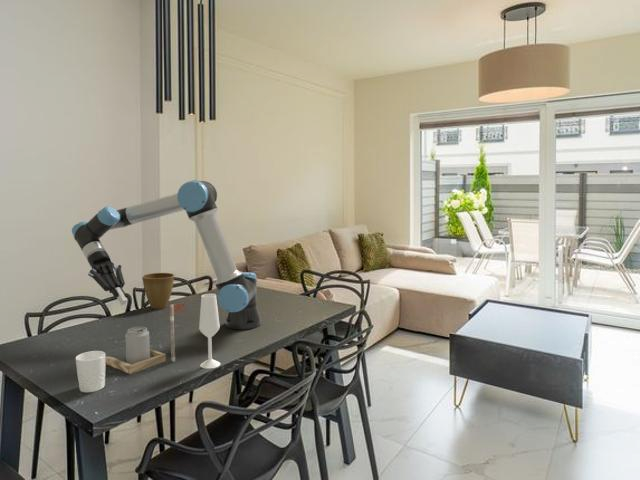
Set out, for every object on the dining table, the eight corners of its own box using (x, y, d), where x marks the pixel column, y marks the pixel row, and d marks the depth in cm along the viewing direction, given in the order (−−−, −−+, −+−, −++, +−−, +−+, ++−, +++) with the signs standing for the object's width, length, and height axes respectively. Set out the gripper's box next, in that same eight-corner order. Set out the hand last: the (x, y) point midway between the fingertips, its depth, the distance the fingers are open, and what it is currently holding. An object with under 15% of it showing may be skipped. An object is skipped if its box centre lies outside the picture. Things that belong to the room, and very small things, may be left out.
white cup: (98, 379, 139) (96, 348, 138) (112, 386, 135) (110, 354, 134) (72, 389, 133) (70, 356, 132) (86, 396, 129) (84, 362, 127)
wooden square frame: (186, 357, 158) (184, 302, 155) (125, 380, 139) (122, 317, 137) (147, 343, 171) (145, 292, 168) (87, 363, 152) (84, 305, 150)
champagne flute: (222, 360, 155) (220, 293, 152) (218, 368, 149) (216, 298, 146) (202, 360, 155) (200, 293, 152) (198, 368, 148) (196, 298, 145)
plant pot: (156, 312, 212) (155, 279, 210) (136, 308, 219) (135, 276, 217) (181, 305, 224) (180, 274, 222) (162, 301, 232) (161, 271, 230)
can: (143, 368, 149) (141, 333, 147) (122, 366, 150) (120, 331, 148) (154, 359, 156) (153, 326, 154) (134, 358, 157) (132, 324, 155)
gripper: (109, 259, 184) (135, 304, 177) (77, 264, 173) (104, 312, 166) (115, 247, 180) (143, 293, 173) (83, 251, 170) (111, 300, 162)
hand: (124, 302), depth 170 cm, fingers closed
